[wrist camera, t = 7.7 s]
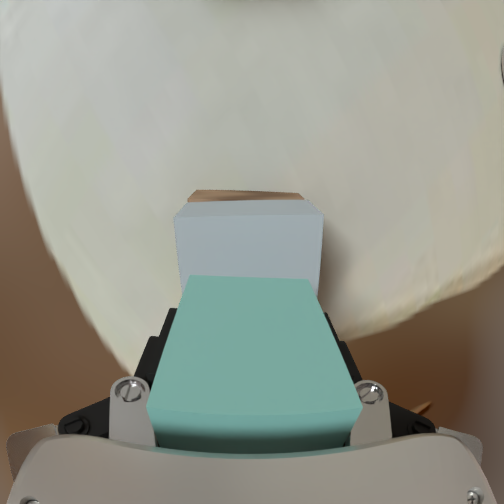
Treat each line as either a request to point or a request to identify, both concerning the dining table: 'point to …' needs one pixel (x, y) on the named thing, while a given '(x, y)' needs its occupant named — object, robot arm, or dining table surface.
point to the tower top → (250, 239)
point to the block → (251, 371)
